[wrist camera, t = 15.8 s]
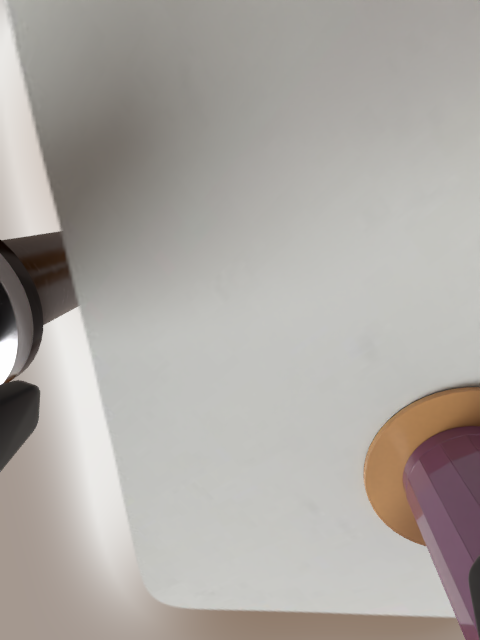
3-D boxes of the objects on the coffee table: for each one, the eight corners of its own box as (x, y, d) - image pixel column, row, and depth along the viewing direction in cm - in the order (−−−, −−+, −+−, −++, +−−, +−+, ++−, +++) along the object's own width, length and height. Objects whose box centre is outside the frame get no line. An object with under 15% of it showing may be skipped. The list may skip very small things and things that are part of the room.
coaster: (345, 527, 23) (346, 532, 23) (389, 371, 20) (391, 375, 19) (526, 559, 23) (529, 566, 22) (604, 404, 19) (611, 409, 19)
